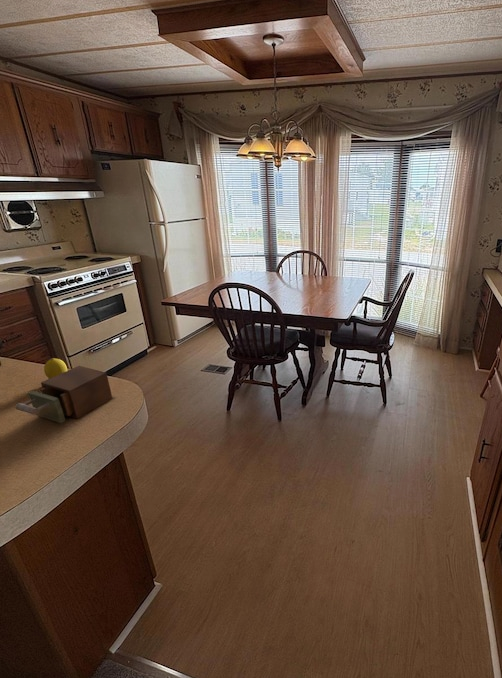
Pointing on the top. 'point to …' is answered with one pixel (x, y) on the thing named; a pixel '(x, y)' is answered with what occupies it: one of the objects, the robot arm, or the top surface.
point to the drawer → (48, 404)
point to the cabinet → (82, 388)
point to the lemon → (54, 367)
